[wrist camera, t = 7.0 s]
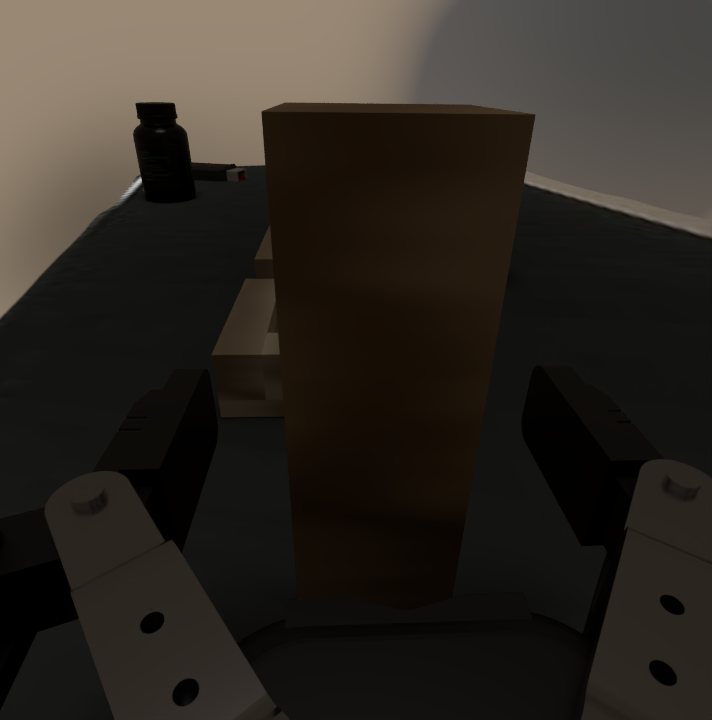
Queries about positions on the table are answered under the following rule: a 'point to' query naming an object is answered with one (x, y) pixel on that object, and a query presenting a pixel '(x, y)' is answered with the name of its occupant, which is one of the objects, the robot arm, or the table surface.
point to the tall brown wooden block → (387, 330)
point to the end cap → (250, 355)
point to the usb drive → (217, 172)
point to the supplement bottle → (163, 154)
